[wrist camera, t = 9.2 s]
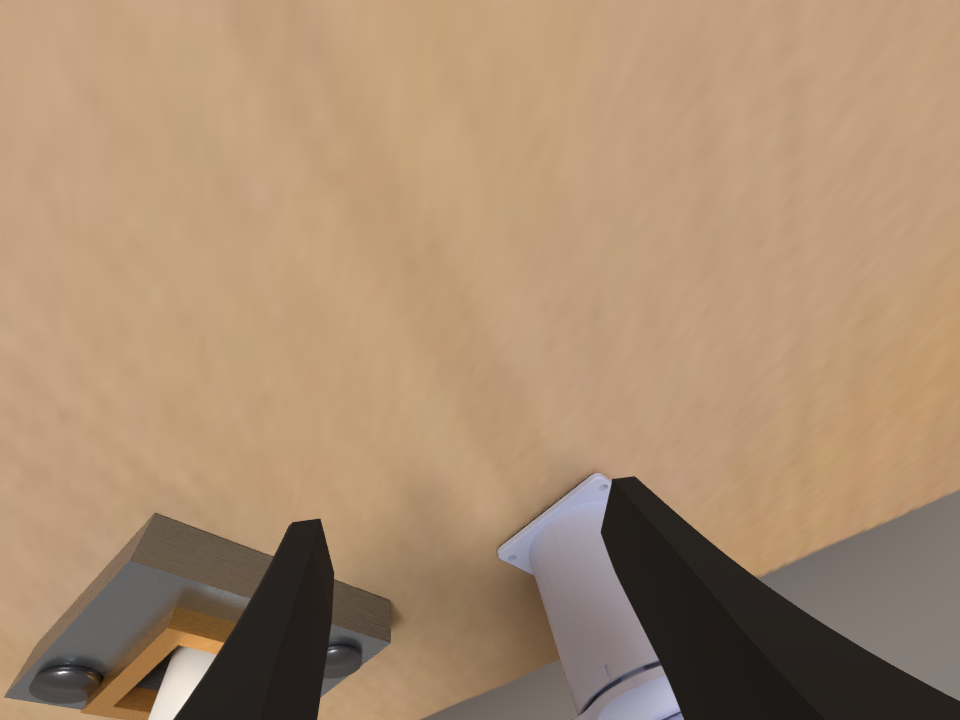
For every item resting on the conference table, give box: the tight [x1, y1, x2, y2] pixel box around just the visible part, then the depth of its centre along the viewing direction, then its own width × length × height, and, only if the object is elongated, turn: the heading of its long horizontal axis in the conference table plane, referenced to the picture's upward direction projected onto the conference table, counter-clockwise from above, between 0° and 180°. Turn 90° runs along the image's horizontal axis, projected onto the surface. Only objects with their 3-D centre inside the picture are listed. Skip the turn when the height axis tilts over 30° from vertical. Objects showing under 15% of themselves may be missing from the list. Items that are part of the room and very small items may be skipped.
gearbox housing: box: [4, 513, 391, 720], centre depth 24 cm, size 14×12×4 cm
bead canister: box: [148, 645, 217, 720], centre depth 23 cm, size 4×4×7 cm
